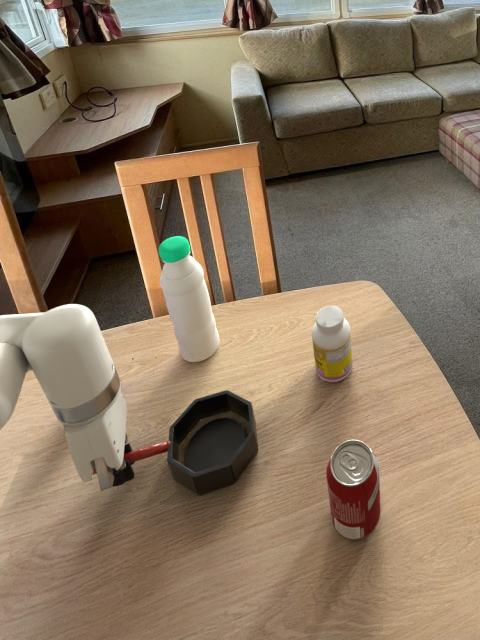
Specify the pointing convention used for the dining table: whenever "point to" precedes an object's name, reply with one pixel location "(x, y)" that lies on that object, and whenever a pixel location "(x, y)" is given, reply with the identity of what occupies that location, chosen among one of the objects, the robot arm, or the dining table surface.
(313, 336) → the supplement bottle
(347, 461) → the soda can
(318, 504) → the dining table surface
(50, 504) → the dining table surface
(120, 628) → the dining table surface
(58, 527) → the dining table surface
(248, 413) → the pan
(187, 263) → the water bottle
